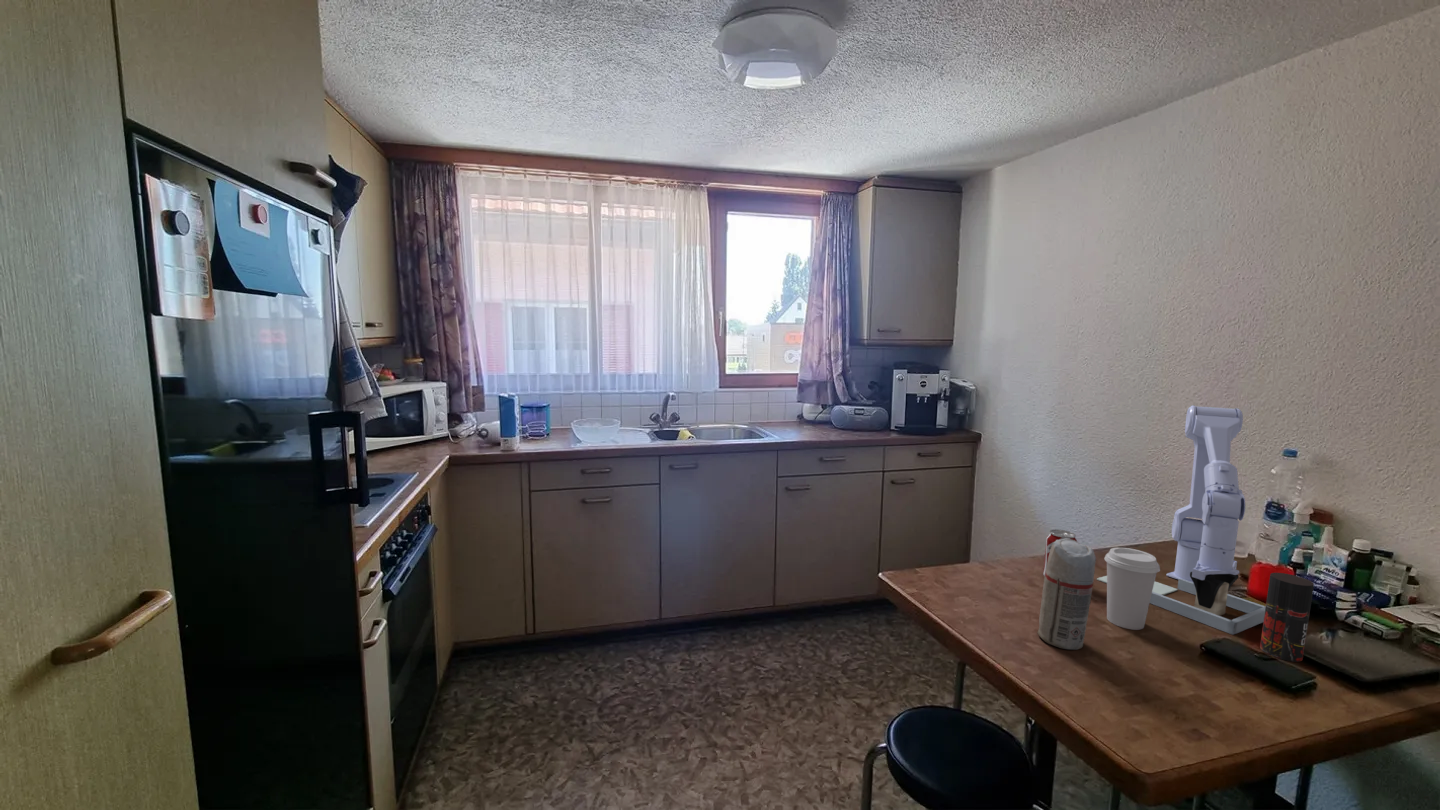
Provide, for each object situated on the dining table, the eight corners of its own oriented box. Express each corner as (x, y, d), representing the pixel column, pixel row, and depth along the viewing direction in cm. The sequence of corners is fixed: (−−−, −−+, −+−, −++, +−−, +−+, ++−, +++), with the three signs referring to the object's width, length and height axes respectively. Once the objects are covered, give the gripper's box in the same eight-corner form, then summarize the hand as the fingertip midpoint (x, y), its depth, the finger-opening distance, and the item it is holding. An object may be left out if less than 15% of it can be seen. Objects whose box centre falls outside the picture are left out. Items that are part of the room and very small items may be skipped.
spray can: (1080, 634, 117) (1089, 539, 115) (1091, 655, 109) (1102, 553, 107) (1033, 626, 120) (1042, 533, 118) (1041, 646, 112) (1050, 547, 110)
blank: (1203, 606, 131) (1207, 576, 130) (1224, 613, 128) (1228, 583, 127) (1194, 609, 129) (1197, 579, 128) (1215, 617, 126) (1219, 586, 125)
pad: (1124, 571, 150) (1124, 570, 150) (1177, 590, 139) (1177, 589, 139) (1096, 579, 144) (1096, 578, 144) (1149, 599, 134) (1149, 598, 134)
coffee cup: (1146, 617, 125) (1154, 550, 123) (1158, 637, 116) (1167, 566, 115) (1095, 607, 129) (1101, 543, 127) (1102, 627, 120) (1109, 557, 119)
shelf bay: (1179, 588, 140) (1180, 578, 140) (1269, 619, 125) (1271, 608, 125) (1142, 600, 133) (1143, 589, 133) (1232, 634, 118) (1234, 623, 118)
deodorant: (1260, 641, 116) (1271, 570, 114) (1302, 653, 112) (1314, 579, 110) (1259, 652, 112) (1269, 578, 110) (1302, 665, 107) (1314, 588, 106)
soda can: (1065, 574, 147) (1070, 529, 146) (1079, 586, 140) (1084, 538, 139) (1038, 573, 148) (1042, 527, 146) (1050, 584, 141) (1054, 537, 140)
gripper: (1223, 557, 120) (1215, 619, 121) (1257, 547, 126) (1248, 606, 128) (1184, 545, 126) (1176, 604, 128) (1218, 536, 133) (1210, 593, 134)
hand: (1210, 604), depth 128 cm, fingers closed on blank, 4 cm apart
